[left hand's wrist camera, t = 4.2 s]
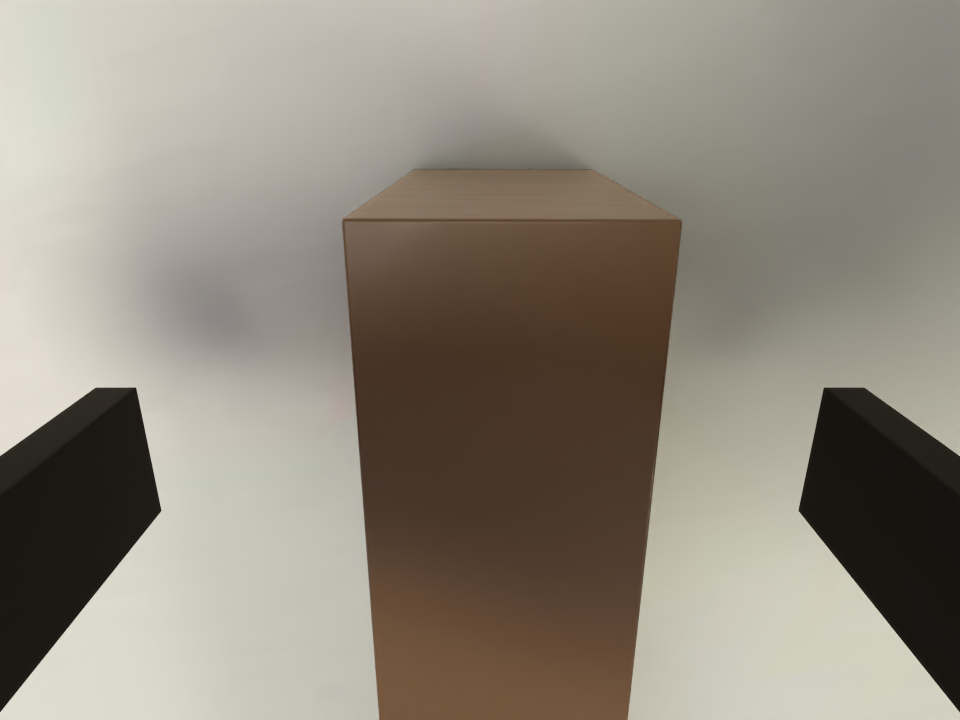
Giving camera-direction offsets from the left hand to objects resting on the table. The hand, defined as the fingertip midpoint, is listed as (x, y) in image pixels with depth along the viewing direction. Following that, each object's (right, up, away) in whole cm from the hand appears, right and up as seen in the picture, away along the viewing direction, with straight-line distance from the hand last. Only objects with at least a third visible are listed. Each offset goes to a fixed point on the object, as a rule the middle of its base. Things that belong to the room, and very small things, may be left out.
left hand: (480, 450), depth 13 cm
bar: (+1, -30, +18) cm, 35 cm away
